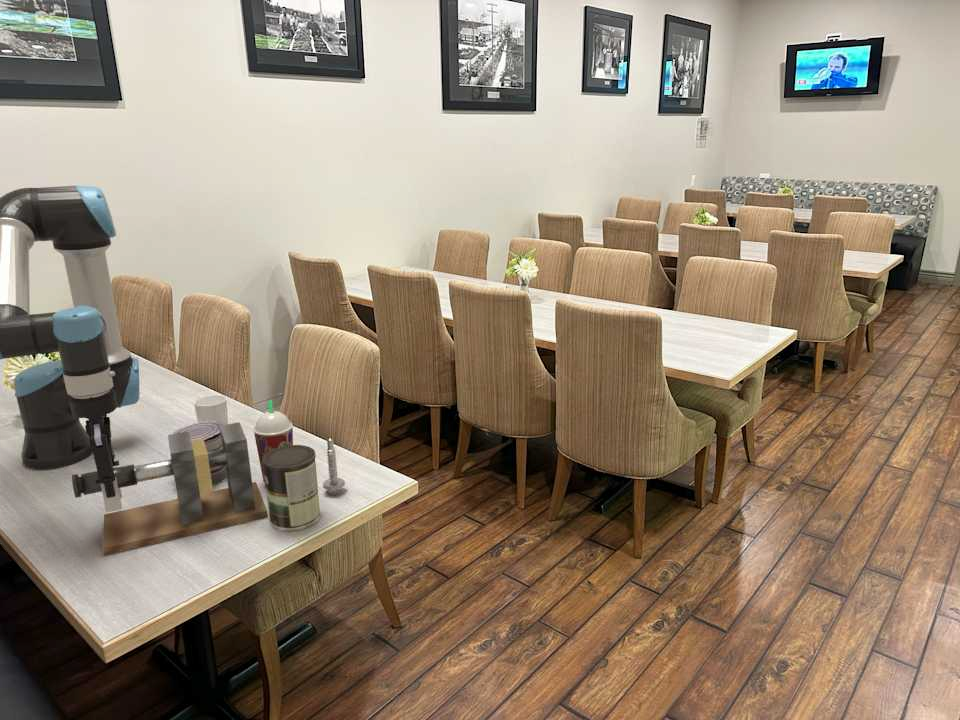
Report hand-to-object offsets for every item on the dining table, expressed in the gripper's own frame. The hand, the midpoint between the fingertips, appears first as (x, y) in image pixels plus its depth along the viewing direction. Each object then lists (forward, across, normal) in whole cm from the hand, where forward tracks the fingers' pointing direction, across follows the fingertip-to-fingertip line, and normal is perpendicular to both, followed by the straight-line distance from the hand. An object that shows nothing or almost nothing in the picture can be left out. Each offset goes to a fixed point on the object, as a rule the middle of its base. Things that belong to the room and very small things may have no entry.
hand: (114, 504), depth 133 cm
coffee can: (+7, -10, -32) cm, 34 cm away
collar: (-4, 0, -16) cm, 17 cm away
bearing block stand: (+7, 0, -12) cm, 14 cm away
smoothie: (+7, +7, -32) cm, 34 cm away
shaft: (-3, 0, -8) cm, 9 cm away
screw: (+7, -3, -42) cm, 43 cm away
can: (+7, +18, -17) cm, 26 cm away
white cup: (+7, +42, -23) cm, 48 cm away
